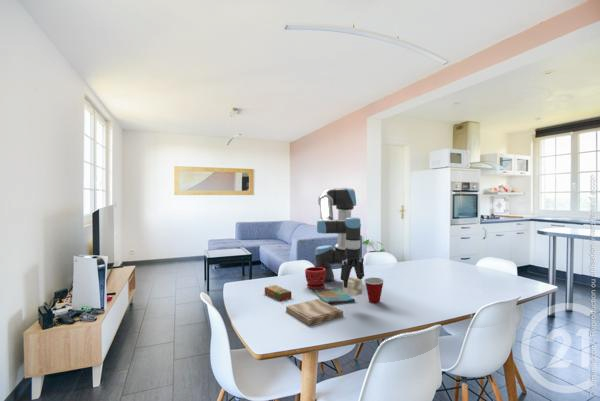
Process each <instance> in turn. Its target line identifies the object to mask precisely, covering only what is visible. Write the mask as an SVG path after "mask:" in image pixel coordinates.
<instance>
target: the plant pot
mask: <svg viewBox="0 0 600 401" xmlns="http://www.w3.org/2000/svg"><path fill="white" fill-rule="evenodd" d="M304 272H305V280H306V282H307V283H306V286H307V288H309V289H310V290H321V289H325V287H326V284H325V282H324V281H325V277H326V269H325V268H322V267H315V266H312V267H307V268H305V270H304Z"/></svg>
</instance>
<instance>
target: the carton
mask: <svg viewBox="0 0 600 401" xmlns="http://www.w3.org/2000/svg"><path fill="white" fill-rule="evenodd" d="M264 295H267V296H269V297H271V298H273V299H275V300H277V301H279V302H283V301H285V300H289V299H292V291H291V290H288V289H286V288H284V287H282V286H279V285H276V284H274V285H268V286H265V287H264Z"/></svg>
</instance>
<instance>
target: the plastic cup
mask: <svg viewBox="0 0 600 401" xmlns="http://www.w3.org/2000/svg"><path fill="white" fill-rule="evenodd" d="M363 281H364V283H365V288H366V293H367V296H368V297H367V298H368V299H367V300H368V302H369V303H371V304H378V303H380V301H381V296H382V290H383V287H384V285H383V284H384V283H385V280H384V279H383V278H380V277H368V278H364V280H363Z"/></svg>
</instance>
